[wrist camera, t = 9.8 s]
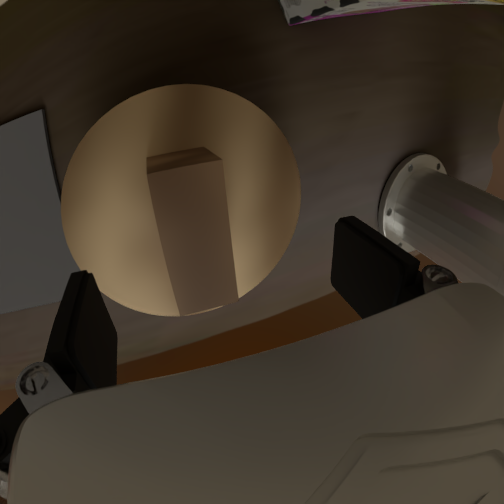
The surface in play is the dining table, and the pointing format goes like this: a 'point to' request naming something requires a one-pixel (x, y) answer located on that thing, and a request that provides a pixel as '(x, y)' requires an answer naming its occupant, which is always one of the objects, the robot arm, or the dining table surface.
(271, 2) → the dining table surface
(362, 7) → the candy bar box
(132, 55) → the dining table surface
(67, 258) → the mat
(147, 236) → the lid
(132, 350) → the dining table surface
